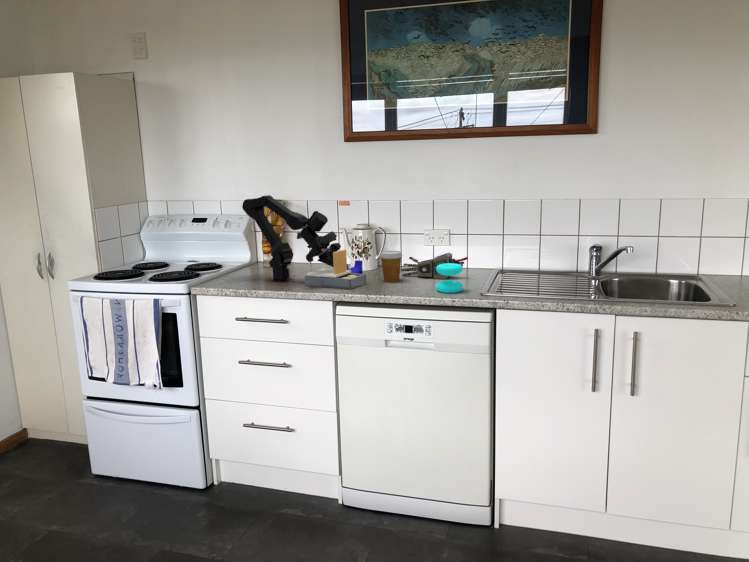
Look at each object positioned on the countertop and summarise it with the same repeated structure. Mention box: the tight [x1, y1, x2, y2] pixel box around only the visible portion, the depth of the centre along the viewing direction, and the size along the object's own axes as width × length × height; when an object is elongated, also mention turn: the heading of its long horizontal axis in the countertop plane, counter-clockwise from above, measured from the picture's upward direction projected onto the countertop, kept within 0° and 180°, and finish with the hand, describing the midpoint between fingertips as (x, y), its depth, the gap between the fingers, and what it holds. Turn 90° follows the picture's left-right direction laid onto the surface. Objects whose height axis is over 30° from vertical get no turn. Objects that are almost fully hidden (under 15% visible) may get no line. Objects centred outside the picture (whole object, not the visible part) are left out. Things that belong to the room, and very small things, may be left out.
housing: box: [304, 273, 367, 291], centre depth 242 cm, size 22×12×4 cm, turn 61°
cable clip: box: [347, 260, 364, 274], centre depth 262 cm, size 12×4×6 cm, turn 145°
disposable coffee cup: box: [379, 250, 403, 283], centre depth 246 cm, size 10×10×12 cm
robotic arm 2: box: [400, 252, 469, 280], centre depth 251 cm, size 10×8×30 cm
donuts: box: [435, 263, 464, 294], centre depth 224 cm, size 10×10×10 cm
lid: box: [306, 249, 351, 278], centre depth 242 cm, size 14×12×10 cm
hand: (336, 267), depth 241 cm, fingers closed
